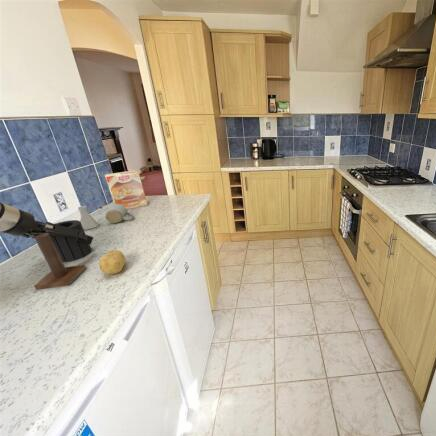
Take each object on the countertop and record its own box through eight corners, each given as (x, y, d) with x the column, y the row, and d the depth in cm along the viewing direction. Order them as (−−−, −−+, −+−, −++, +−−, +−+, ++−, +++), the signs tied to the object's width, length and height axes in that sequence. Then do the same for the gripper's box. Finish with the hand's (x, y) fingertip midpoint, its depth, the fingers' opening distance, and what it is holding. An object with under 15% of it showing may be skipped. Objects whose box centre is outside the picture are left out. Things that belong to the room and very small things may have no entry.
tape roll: (49, 262, 87) (34, 232, 82) (74, 247, 96) (62, 220, 91) (75, 262, 86) (62, 232, 81) (98, 248, 95) (87, 220, 90)
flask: (98, 222, 118) (91, 203, 114) (99, 227, 113) (92, 207, 109) (80, 226, 114) (71, 207, 110) (80, 231, 109) (71, 211, 105)
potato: (98, 282, 75) (91, 265, 73) (108, 263, 85) (102, 248, 82) (123, 276, 77) (117, 260, 75) (130, 259, 87) (125, 243, 84)
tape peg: (36, 289, 73) (10, 244, 66) (56, 272, 81) (35, 230, 75) (70, 285, 74) (48, 240, 68) (86, 268, 82) (68, 227, 76)
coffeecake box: (117, 211, 131) (105, 176, 124) (115, 208, 136) (103, 174, 128) (148, 204, 141) (138, 171, 133) (144, 202, 145) (135, 169, 138)
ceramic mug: (107, 225, 115) (102, 210, 112) (112, 218, 122) (107, 204, 119) (132, 221, 118) (128, 207, 115) (136, 215, 125) (132, 201, 122)
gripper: (-36, 232, 70) (39, 250, 90) (43, 232, 68) (102, 250, 88) (-23, 208, 73) (47, 231, 93) (53, 208, 71) (108, 231, 91)
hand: (74, 240), depth 90 cm, fingers open, 13 cm apart
